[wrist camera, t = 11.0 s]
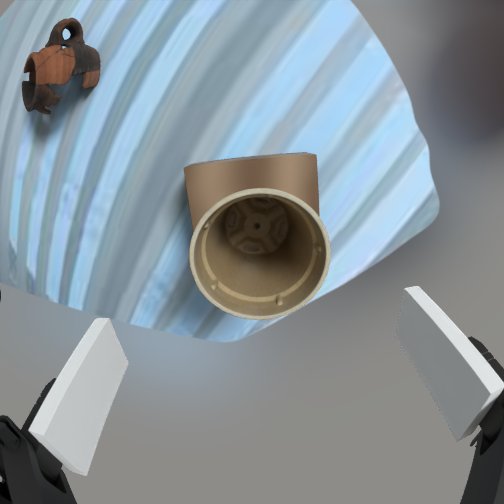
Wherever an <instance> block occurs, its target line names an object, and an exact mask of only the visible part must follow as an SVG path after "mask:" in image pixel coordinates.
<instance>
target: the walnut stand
mask: <svg viewBox="0 0 504 504" xmlns="http://www.w3.org/2000/svg"><path fill="white" fill-rule="evenodd" d="M184 174H185V181H186V188H187V195H188V201H189V207H190V214H191V220H192V226H193V232H194V230H195V228H196V226H197V224H198V223H199V221H200V220H201V218H202V217H203V216H204V214H205V213H206V212H207V211H208V210H209V209H210V208H211V207H212V206H213V205H215V204H216V203H217V202H219V201H220V200H222V199H223V198H225V197H227V196H229V195H231V194H233V193H236V192H239V191H243V190H247V189H254V188H269V189H276V190H280V191H283V192H286V193H289V194H291V195H294V196H295V197H297V198H299V199H300V200H302V201H303V202H305V203H306V204H308V205H309V206H310V207H311V208H312V209H313V210H314V211H315V212H316V213H317V215H318V216H319V193H318V173H317V157H316V155H315V154H311V153H306V152H303V153H287V154H273V155H261V156H251V157H241V158H232V159H224V160H216V161H208V162H201V163H194V164H191V165H189V166H187V167H185V168H184ZM257 201H260V202H262V203H263V202H265V203H269V202H268V201H267V200H265V199H259V198H257ZM234 221H235V215H234V214H232V215H231V217H230V220H229V226H234ZM255 227H256V228H259V227H260V226H259V224H256V225H255ZM285 230H286V224H285V223H283V224H282V229H281V233H280V236H282V235H284V233H285ZM245 249H247V250H253V251H255V250H258V248H256V247H251V246H246V247H245Z"/></svg>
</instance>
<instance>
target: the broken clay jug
mask: <svg viewBox="0 0 504 504" xmlns="http://www.w3.org/2000/svg"><path fill="white" fill-rule="evenodd" d="M65 28H66V29H68V30H69V32H70V34H71V36H70V38H69V39H67V40H64V38H63V35H62V33H63V30H64V29H65ZM84 43H85V42H84V40H83V30H82V27H81V25H80V23H79V21H77V20H76V19H74V18H69V19H63V20H61V21H59V22H58V23H57V24H56V25H55V26H54V28H53V29H52V32H51V35H50V38H49V41H48V42H47V44H46V45H45V48H43V49H41V50H40V51H39V52H33V53H31V54H30V55H29V57H28V59H27V61H26V64H25V67H24V73H27V72H30V74H29V81H23V82H22V96H23V102H24V105H25V107H26V109H27V111H29V112H30V111H33V110H35V109H36V110H37V111H39V112H41V113H44V114H50V113H51V111H49V110H47V109H46V108H45V107H49V106H51V105H55V104H57V103H58V102H59V100H60V98H61V96H60V95H55V94H54V93H53V92H52V90H51V89H50V87H49V85H48V84H56V85H63V84H65V83H67V82H68V81H69V80H70V78H71V76H74V75H77V74H80V73H84V78H83V84H82V87H83V88H89V87H93V86H96V85H97V83H98V80H99V75H100V57H99V53H98V52H97V51H96V49H94V48H92V47H90V46H88V45H85V44H84ZM62 46H65V47H66V48H64V49H62ZM35 69H36V70H35Z"/></svg>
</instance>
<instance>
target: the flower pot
mask: <svg viewBox="0 0 504 504" xmlns="http://www.w3.org/2000/svg"><path fill="white" fill-rule="evenodd" d="M257 198H259V199H265V200H267V201H268V202H269V203H265V202H263V203H262V202H260V201H257ZM232 214H234V215H235V221H234V226H229V220H230V217H231V215H232ZM283 223H285V224H286V230H285V233H284V235H282V236H280V233H281V229H282V224H283ZM256 224H259V226H260V227H259V228H256V227H255V225H256ZM246 246H251V247H256V248H258V250H255V251H253V250H247V249H245V247H246ZM330 254H331V251H330V241H329V237H328V234H327V230H326V228H325V226H324V224H323V222H322V221H321V219H320V218H319V216H318V215H317V213H316V212H315V211H314V210H313V209H312V208H311V207H310V206H309V205H308V204H306V203H305V202H303V201H302V200H300V199H299V198H297V197H295V196H294V195H291V194H289V193H286V192H283V191H280V190H276V189H269V188H254V189H247V190H243V191H239V192H236V193H233V194H231V195H229V196H227V197H225V198H223V199H222V200H220V201H219V202H217V203H216V204H215V205H213V206H212V207H211V208H210V209H209V210H208V211H207V212H206V213H205V214H204V216H203V217H202V218H201V220H200V221H199V223H198V224H197V226H196V228H195V230H194V233H193V236H192V238H191V243H190V249H189V262H190V268H191V272H192V275H193V277H194V280H195V282H196V284H197V286H198V288H199V290H200V291H201V292H202V294H203V295H204V296H205V297H206V298H207V299H208V300H209V301H210V302H211V303H212V304H213V305H215V306H216V307H218V308H219V309H221V310H222V311H224V312H226V313H229V314H232V315H234V316H236V317H241V318H245V319H254V320H266V319H272V318H278V317H281V316H284V315H287V314H289V313H292V312H294V311H296V310H297V309H299V308H300V307H302V306H303V305H305V304H306V303H307V302H308V301H310V300H311V299H312V298H313V297H314V295H315V294H316V293H317V292H318V291H319V289H320V288H321V286H322V284H323V282H324V280H325V278H326V276H327V272H328V269H329V265H330Z"/></svg>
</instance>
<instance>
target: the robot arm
mask: <svg viewBox="0 0 504 504" xmlns="http://www.w3.org/2000/svg"><path fill="white" fill-rule="evenodd" d="M0 300H1V291H0ZM395 338H396V339H397V341H398V342H399V344H400V346H401V347H402V349H403V350H404V352H405V353H406V355H407V356H408V358H409V360H410V361H411V363H412V364H413V366H414V368H415V369H416V371H417V372H418V374H419V376H420V377H421V379H422V381H423V382H424V384H425V386H426V387H427V389H428V391H429V392H430V394H431V396H432V398H433V399H434V401H435V403H436V404H437V406H438V408H439V410H440V411H441V413H442V415H443V417H444V419H445V420H446V422H447V424H448V426H449V427H450V430H451V432H452V433H453V435H454V437H455V439H456V441H459V440H461V439H463V438H465V437H467V436H468V435H470V434H472V433H473V432H474V430H475V429H476V428H477V426H478V425H480V427H481V429H482V430H481V431H480V432H479V433H478V435H477V436H476V437H475V438H474V439H473V441H472V442H471V444H470V446H473V445H474V444H475V442H476V441H477V440H478V441H477V445H476V446H475V447H476V450H475V455H474V459H473V463H472V467H471V470H470V474H469V478H468V481H467V484H466V488H465V490H464V494H463V496H462V499H461V502H460V504H504V369H503V367H502V366H501V365H500V364H499V363H498V362H497V360H496V359H494V357H493V355H492V354H491V353H489V352H488V350H487V349H486V347H485V346H484V345H483V344H482V343H481V342H479V341H478V340H476V339H475V338H473V337H469V338H467V337H466V336H465V335H464V334H463V333H462V332H461V331H460V329H459V328H458V327H457V326H456V325H455V324H454V323H453V322H452V321H451V320H450V319H449V317H448V316H447V315H446V314H445V313H444V312H443V311H442V310H441V309H440V308H439V307H438V306H437V305H436V304H435V303H434V302H433V301H432V299H430V298H429V297H428V295H427V294H426V293H424V291H422V289H421V288H420V287H419V286H414V287H409V288H404V293H403V299H402V305H401V310H400V315H399V320H398V325H397V329H396V333H395ZM127 366H128V361H127V358H126V356H125V354H124V352H123V350H122V347H121V345H120V343H119V340H118V338H117V336H116V334H115V331H114V329H113V326H112V324H111V321H110V319H109V318H96V319H95V320H94V322H93V323H92V325H91V326H90V328H89V329H88V330H87V332H86V334H85V335H84V336H83V338H82V340H81V341H80V343H79V344H78V346H77V347H76V349H75V350H74V352H73V353H72V355H71V357H70V358H69V360H68V361H67V363H66V365H65V366H64V368H63V370H62V371H61V373H60V374H59V376H58V378H57V379H56V378H54V379H53V380H52V381H51V382H49V383H48V384H47V385H46V386H45V388H44V390H43V391H42V393H41V397H39V398H38V400H37V402H36V404H35V405H34V407H33V409H32V411H31V412H30V414H29V416H28V418H27V420H26V421H25V423H24V425H23V427H22V429H21V430H20V429H19V428H18V427H17V426H16V425H15V424H14V423H13V421H12V420H11V419H10V418H9V417H8V416H4V415H2V416H0V476H1V477H2V482H0V504H77V502H76V500H75V498H74V496H73V493H72V491H71V488H70V486H69V484H68V481H67V478H66V476H65V474H64V472H63V470H62V469H61V467H62V464H63V465H65V466H66V467H67V468H68V469H69V470H70V471H72V472H75V473H78V474H81V475H85V476H87V473H88V469H89V467H90V464H91V461H92V458H93V455H94V452H95V449H96V446H97V443H98V440H99V438H100V435H101V432H102V429H103V427H104V424H105V421H106V418H107V416H108V413H109V411H110V408H111V405H112V403H113V400H114V398H115V395H116V393H117V390H118V388H119V385H120V383H121V380H122V378H123V376H124V373H125V371H126V368H127Z"/></svg>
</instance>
